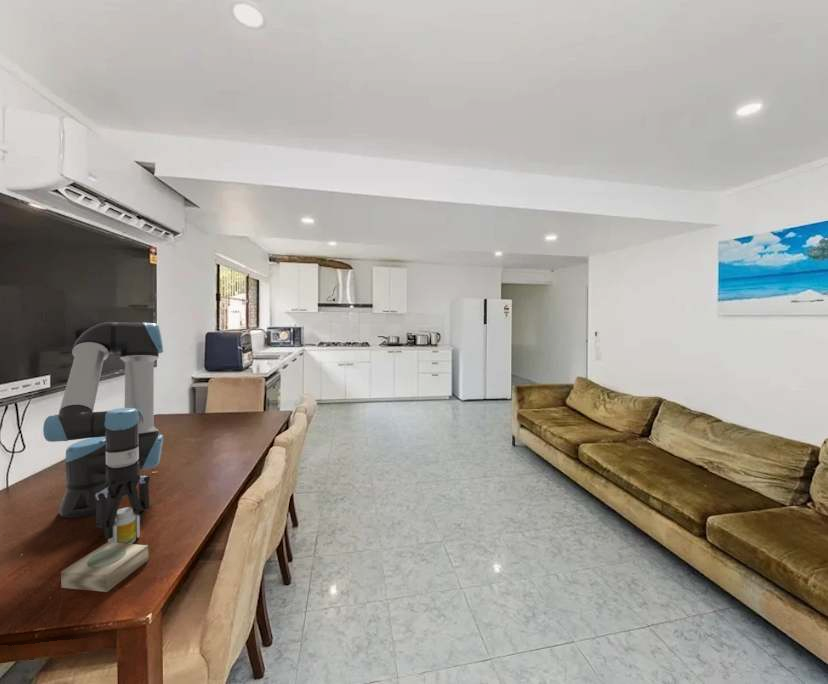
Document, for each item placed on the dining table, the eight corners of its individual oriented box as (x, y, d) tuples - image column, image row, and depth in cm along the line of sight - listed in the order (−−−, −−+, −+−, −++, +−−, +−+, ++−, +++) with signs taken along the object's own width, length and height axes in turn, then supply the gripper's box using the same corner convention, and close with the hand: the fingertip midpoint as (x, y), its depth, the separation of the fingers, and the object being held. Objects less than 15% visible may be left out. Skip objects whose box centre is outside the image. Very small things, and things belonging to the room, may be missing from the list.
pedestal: (61, 587, 88) (60, 570, 88) (107, 556, 100) (107, 541, 100) (106, 591, 87) (106, 574, 87) (148, 559, 99) (148, 544, 99)
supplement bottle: (111, 542, 106) (110, 510, 106) (134, 535, 110) (133, 504, 110) (114, 550, 102) (113, 517, 102) (137, 542, 106) (137, 510, 106)
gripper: (93, 477, 95) (95, 564, 96) (163, 454, 112) (164, 528, 114) (76, 472, 98) (78, 557, 99) (147, 451, 115) (148, 523, 116)
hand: (124, 541), depth 106 cm, fingers closed on supplement bottle, 5 cm apart
